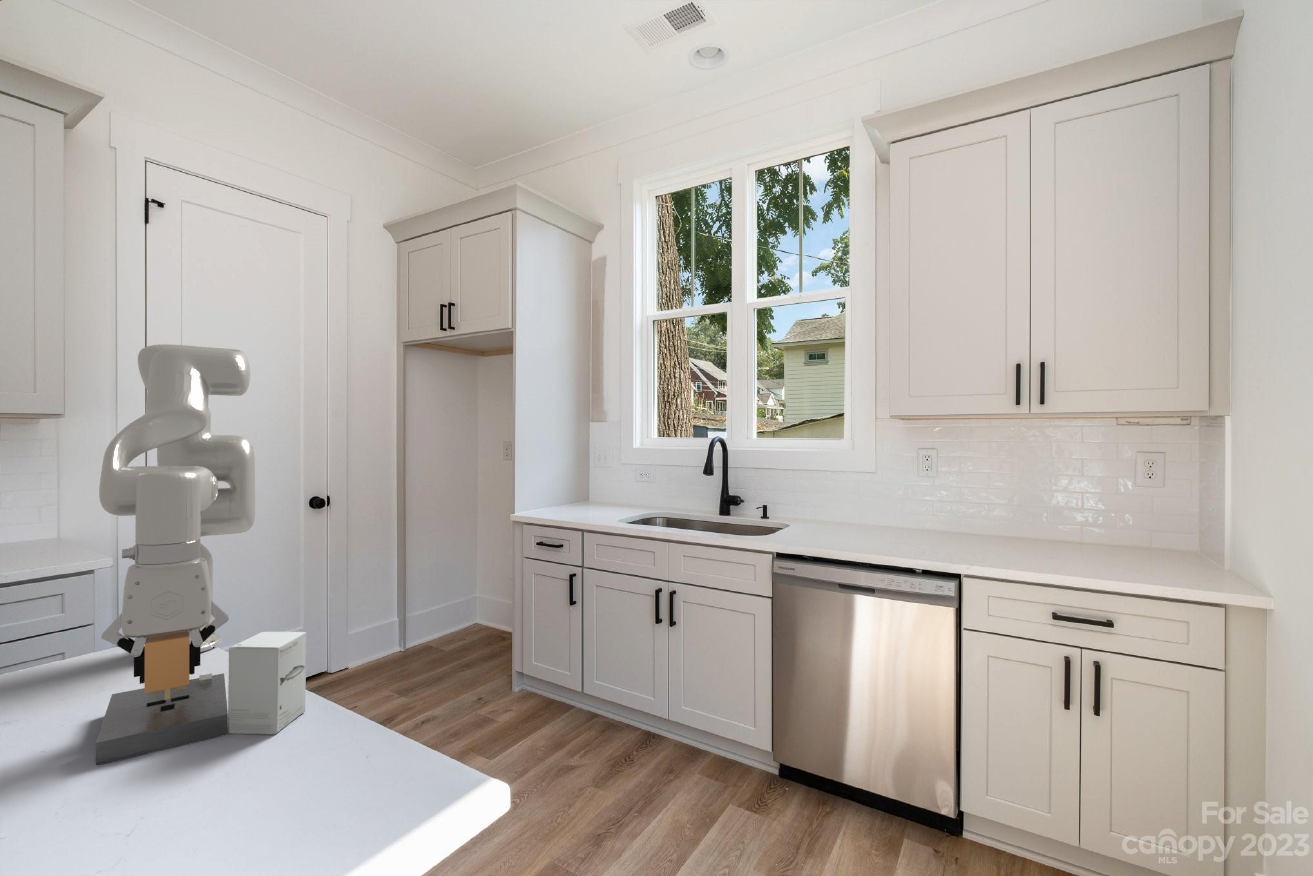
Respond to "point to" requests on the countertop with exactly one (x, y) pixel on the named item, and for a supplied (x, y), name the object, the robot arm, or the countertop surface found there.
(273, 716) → the supplement box
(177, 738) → the dark gray rectangular board
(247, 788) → the countertop surface
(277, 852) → the countertop surface
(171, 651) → the orange block
